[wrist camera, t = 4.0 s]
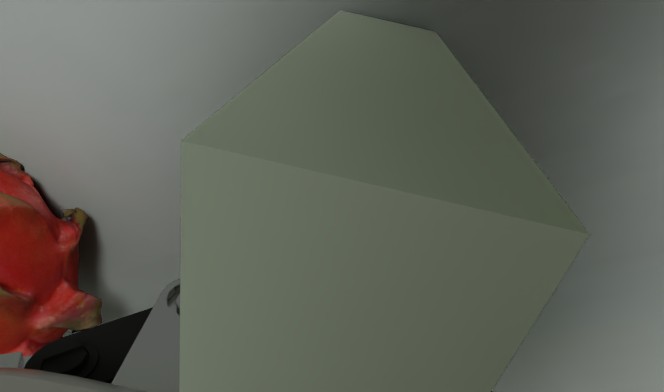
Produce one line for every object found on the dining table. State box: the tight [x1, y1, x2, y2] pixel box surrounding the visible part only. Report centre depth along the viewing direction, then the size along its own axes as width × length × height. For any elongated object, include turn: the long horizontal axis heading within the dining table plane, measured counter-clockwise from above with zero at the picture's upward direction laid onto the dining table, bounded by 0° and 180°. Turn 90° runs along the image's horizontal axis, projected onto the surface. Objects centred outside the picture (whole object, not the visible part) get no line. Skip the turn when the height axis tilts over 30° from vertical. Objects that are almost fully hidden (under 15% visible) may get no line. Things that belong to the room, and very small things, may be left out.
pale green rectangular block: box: [179, 10, 590, 392], centre depth 11 cm, size 12×3×11 cm, turn 169°
